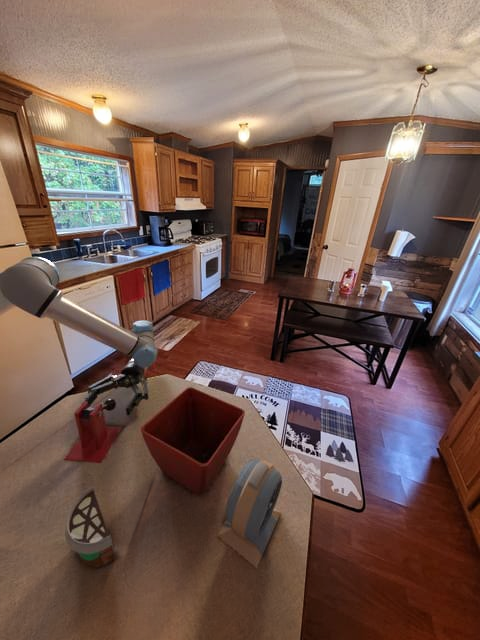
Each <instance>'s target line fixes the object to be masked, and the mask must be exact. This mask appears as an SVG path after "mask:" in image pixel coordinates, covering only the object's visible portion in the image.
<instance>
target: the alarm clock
mask: <svg viewBox="0 0 480 640" xmlns="http://www.w3.org/2000/svg"><path fill="white" fill-rule="evenodd" d="M282 484H283V477H282V475H281V473H280V471H279V470H277V469H276V467H275V465H273V464H272V463H270V462H268V461H266V460H265V459H263V460H261V459H258V458H255V459H253V458H252V459H250V461H248V462H247V463H246V464H245V465H244V467H242V469H241V471H240V473H239V474H238V475H237V478H236V479H235V481H234V484H233V486H232V488H231V490H230V493H229V495H228V499H227V502H226V508H225V516H226V519H225V521H224V523H223V526H222V528H220V531H219V532H218V533H217V537H218V538H219V539H220V538H221V539H220V540H221V541H223V540H224V541H225V542H226V543H227V544H226V543H225V542H224V541H223V542H224V543H225V544H226V545H228V546H229V547H230V546H231V547H232V548H233V550H234V552H236V551H237V552H238V553H237V552H236V553H237V554H238V555H239V556H241V555H242V556H243V557H244V558H243V557H242V556H241V557H242V558H243V559H245V560H246V561H247V560H248V561H249V562H248V561H247V562H248V563H249V564H250V565H252V564H253V565H254V566H255V567H254V566H253V565H252V566H253V567H254V568H255V569H258V566H259V564H260V562H261V559H262V558H263V555H264V552H265V550H266V548H267V546H268V544H269V540H270V539H271V537H272V534H273V531H274V529H275V527H276V525H277V522H278V520H279V518H280V516H281V514H282V513H281V511H280V510H278V509H277V508H275V507H276V505H277V502H278V498H279V496H280V493H281V489H282ZM231 547H230V548H231ZM232 548H231V549H232Z"/></svg>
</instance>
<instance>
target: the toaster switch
mask: <svg viewBox="0 0 480 640" xmlns="http://www.w3.org/2000/svg"><path fill="white" fill-rule="evenodd" d="M83 402H84V401H83ZM83 402H82V403H83ZM82 403H81V405H79V407H78V408H77V409H76V411H75V412H74V413H73V414H74V419H75V423H76V427H77V432H78V437H79V438H78V440H77V441H76V443H75V444H73V445H74V446H72V448H71V449H70V450H69V452H68V453H67V454H66V456H65V457H64V458H63V460H66V461H74V462H86V463H95V464H102V463H103V461H104V459H105V457H106V456H107V454H108V452H109V451H110V450H111V447H112V446H113V444H114V442H115V441H116V439H117V437H118V436H119V434H120V433H121V431H122V429H123V427H121V426H111V425H109V426H108V425H107V423H106V419H105V418H106V417H105V413H104V410H103V403H102V402H98V403H97V404H96V406H95V407H93V408H94V409H93V411H92V412H91V413H90V414H89V415H90V419H82V414H83V409H86V408H89V406H88V402H84V403H83V404H82Z"/></svg>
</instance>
